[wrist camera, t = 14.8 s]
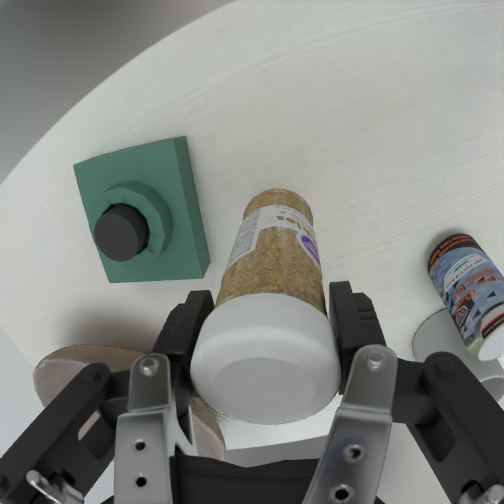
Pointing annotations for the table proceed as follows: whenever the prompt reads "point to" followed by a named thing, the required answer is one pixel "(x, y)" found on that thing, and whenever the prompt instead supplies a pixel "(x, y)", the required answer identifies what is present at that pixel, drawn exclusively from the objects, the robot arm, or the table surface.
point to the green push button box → (149, 209)
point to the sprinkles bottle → (269, 321)
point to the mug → (456, 351)
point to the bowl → (117, 359)
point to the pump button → (121, 233)
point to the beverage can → (471, 294)
